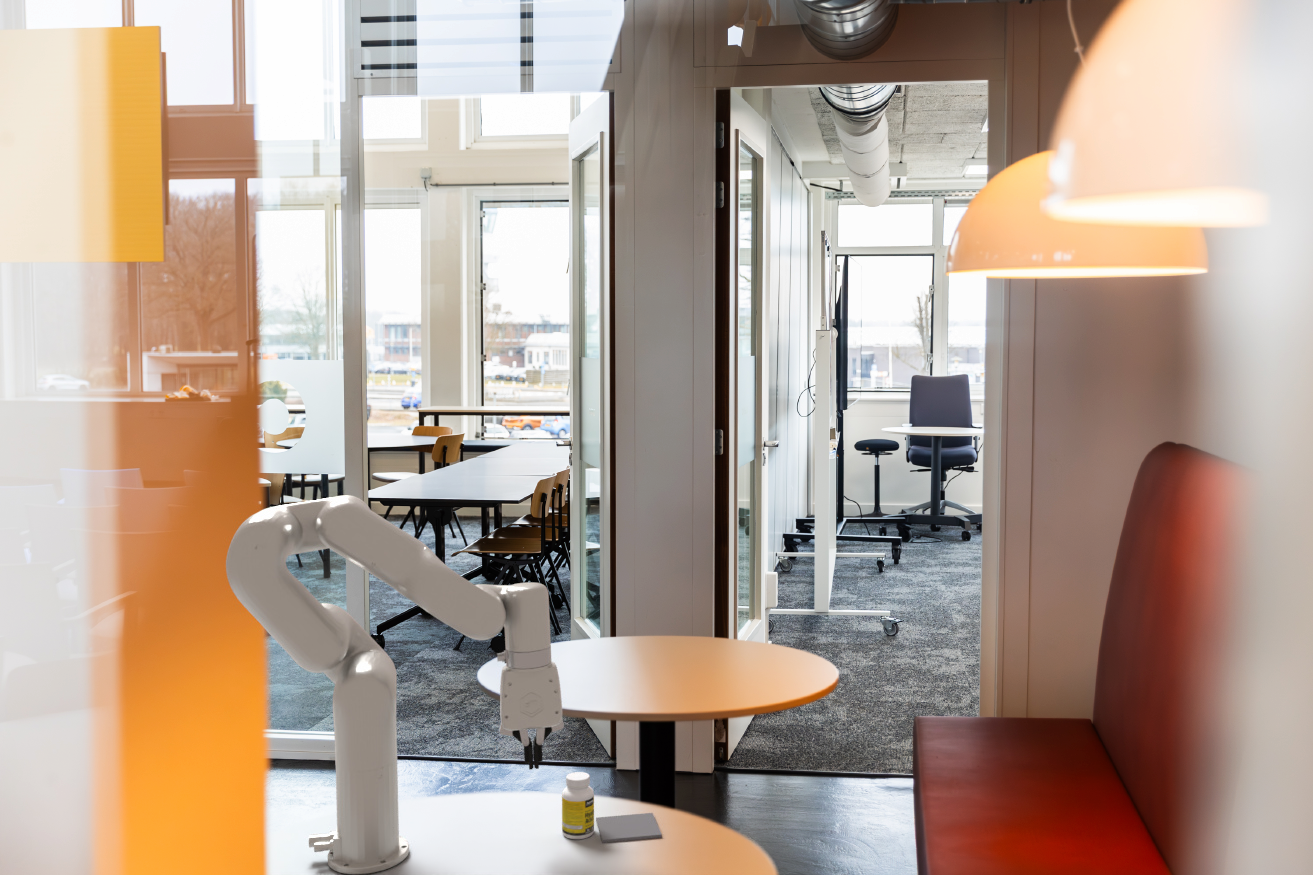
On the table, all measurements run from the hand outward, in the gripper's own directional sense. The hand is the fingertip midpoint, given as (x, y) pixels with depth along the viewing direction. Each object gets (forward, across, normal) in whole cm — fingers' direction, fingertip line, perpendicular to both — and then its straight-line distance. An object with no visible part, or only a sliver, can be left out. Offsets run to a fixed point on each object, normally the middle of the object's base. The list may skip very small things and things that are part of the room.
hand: (533, 765), depth 161 cm
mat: (+12, +16, 0) cm, 20 cm away
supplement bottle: (+12, +7, 0) cm, 14 cm away
